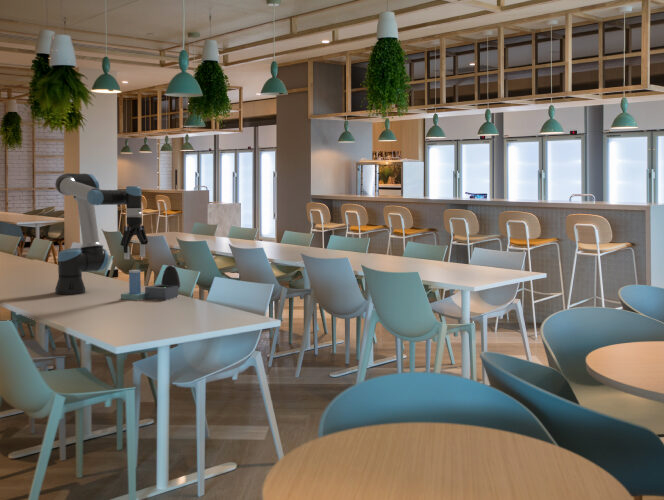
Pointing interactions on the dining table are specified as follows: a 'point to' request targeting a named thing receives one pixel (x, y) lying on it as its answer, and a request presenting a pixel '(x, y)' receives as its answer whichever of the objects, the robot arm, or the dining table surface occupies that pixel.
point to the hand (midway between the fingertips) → (134, 258)
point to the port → (161, 292)
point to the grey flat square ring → (133, 296)
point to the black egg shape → (170, 277)
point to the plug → (134, 282)
